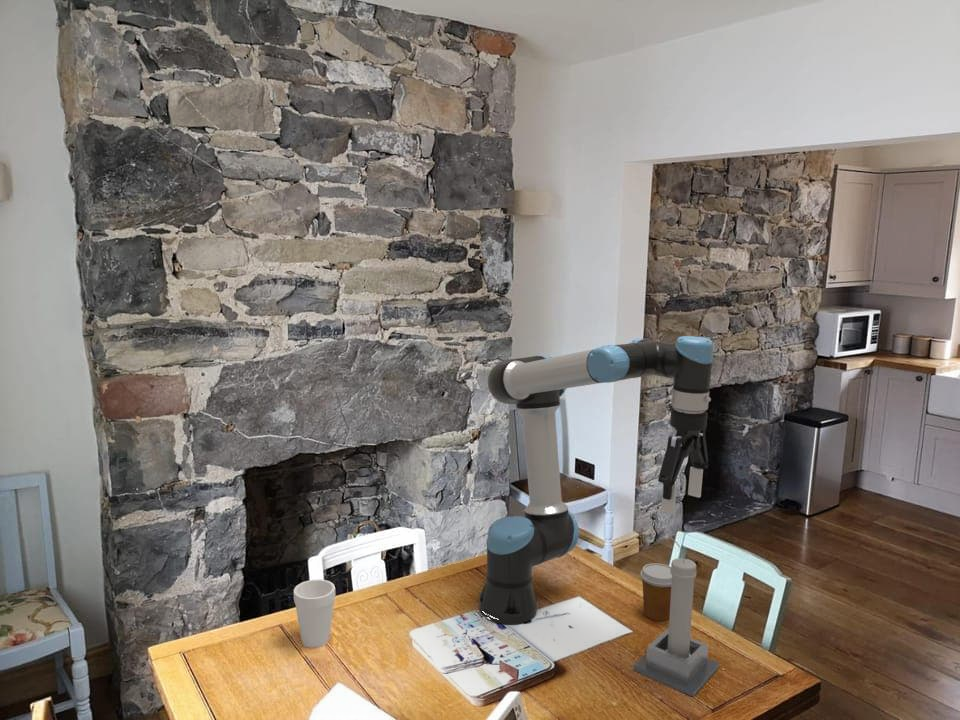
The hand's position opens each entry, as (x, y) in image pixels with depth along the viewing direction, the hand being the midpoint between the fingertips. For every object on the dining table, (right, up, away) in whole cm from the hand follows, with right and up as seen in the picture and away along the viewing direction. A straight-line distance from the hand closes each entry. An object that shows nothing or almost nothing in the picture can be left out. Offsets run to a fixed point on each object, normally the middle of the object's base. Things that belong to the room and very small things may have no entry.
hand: (681, 504), depth 154 cm
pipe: (0, -37, +4) cm, 37 cm away
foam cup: (-83, -35, +13) cm, 91 cm away
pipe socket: (0, -38, +5) cm, 38 cm away
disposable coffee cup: (+2, -34, +28) cm, 44 cm away
